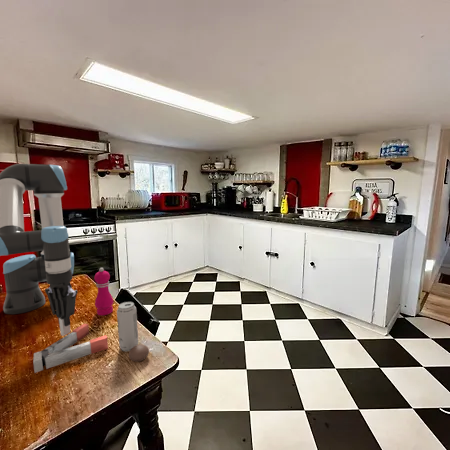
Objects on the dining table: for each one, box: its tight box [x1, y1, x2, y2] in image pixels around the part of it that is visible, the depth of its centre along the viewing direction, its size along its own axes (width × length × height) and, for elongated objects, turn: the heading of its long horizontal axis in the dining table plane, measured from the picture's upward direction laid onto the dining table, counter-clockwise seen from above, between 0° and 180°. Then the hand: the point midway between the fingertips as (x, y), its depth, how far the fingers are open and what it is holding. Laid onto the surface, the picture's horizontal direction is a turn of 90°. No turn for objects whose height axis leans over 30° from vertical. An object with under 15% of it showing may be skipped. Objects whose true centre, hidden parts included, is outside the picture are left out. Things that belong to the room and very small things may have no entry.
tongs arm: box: [45, 323, 90, 354], centre depth 86 cm, size 16×2×4 cm, turn 163°
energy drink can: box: [116, 301, 139, 352], centre depth 84 cm, size 6×6×15 cm
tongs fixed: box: [32, 334, 109, 374], centre depth 81 cm, size 20×5×4 cm, turn 125°
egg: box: [128, 344, 150, 362], centre depth 79 cm, size 6×6×4 cm
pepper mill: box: [93, 267, 114, 316], centre depth 109 cm, size 7×7×20 cm
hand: (65, 333), depth 91 cm, fingers closed
